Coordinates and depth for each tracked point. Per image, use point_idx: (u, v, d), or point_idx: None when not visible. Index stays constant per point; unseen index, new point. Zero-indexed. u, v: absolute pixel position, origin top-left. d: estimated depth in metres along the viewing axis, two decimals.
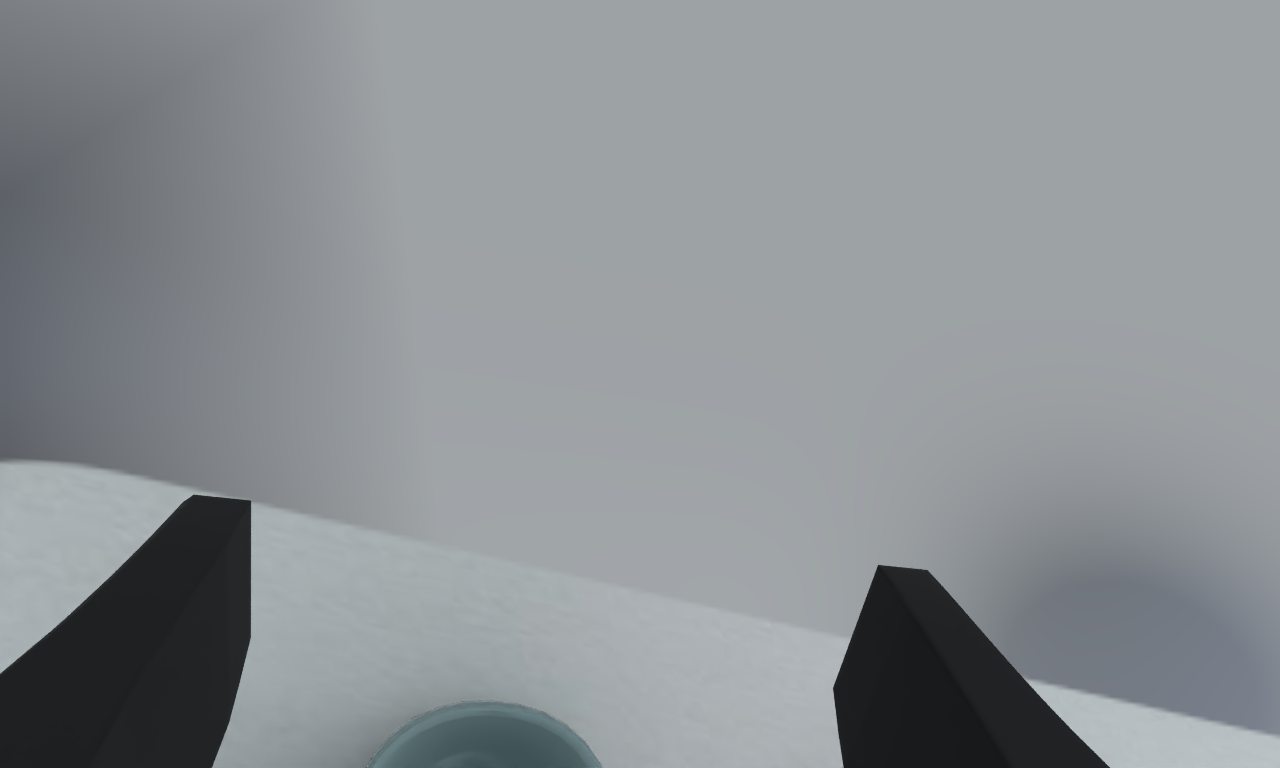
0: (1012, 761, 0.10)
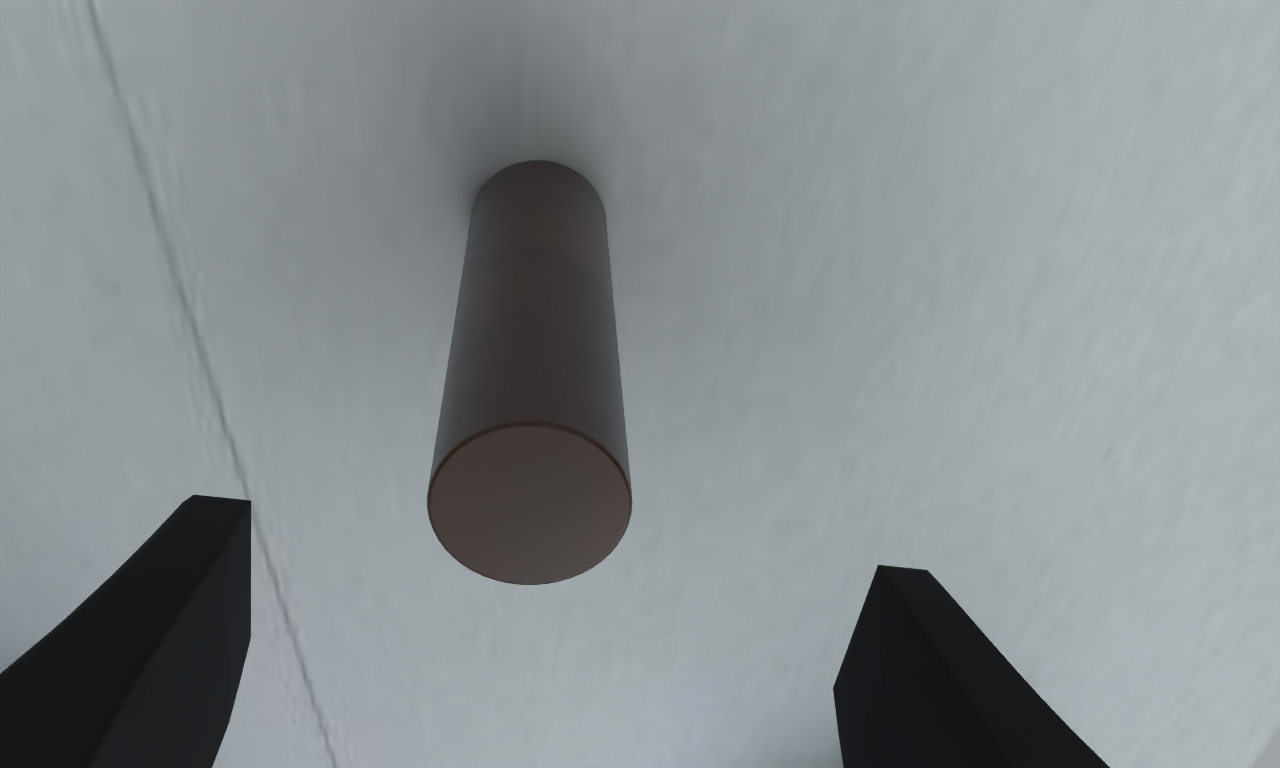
0: (1012, 761, 0.10)
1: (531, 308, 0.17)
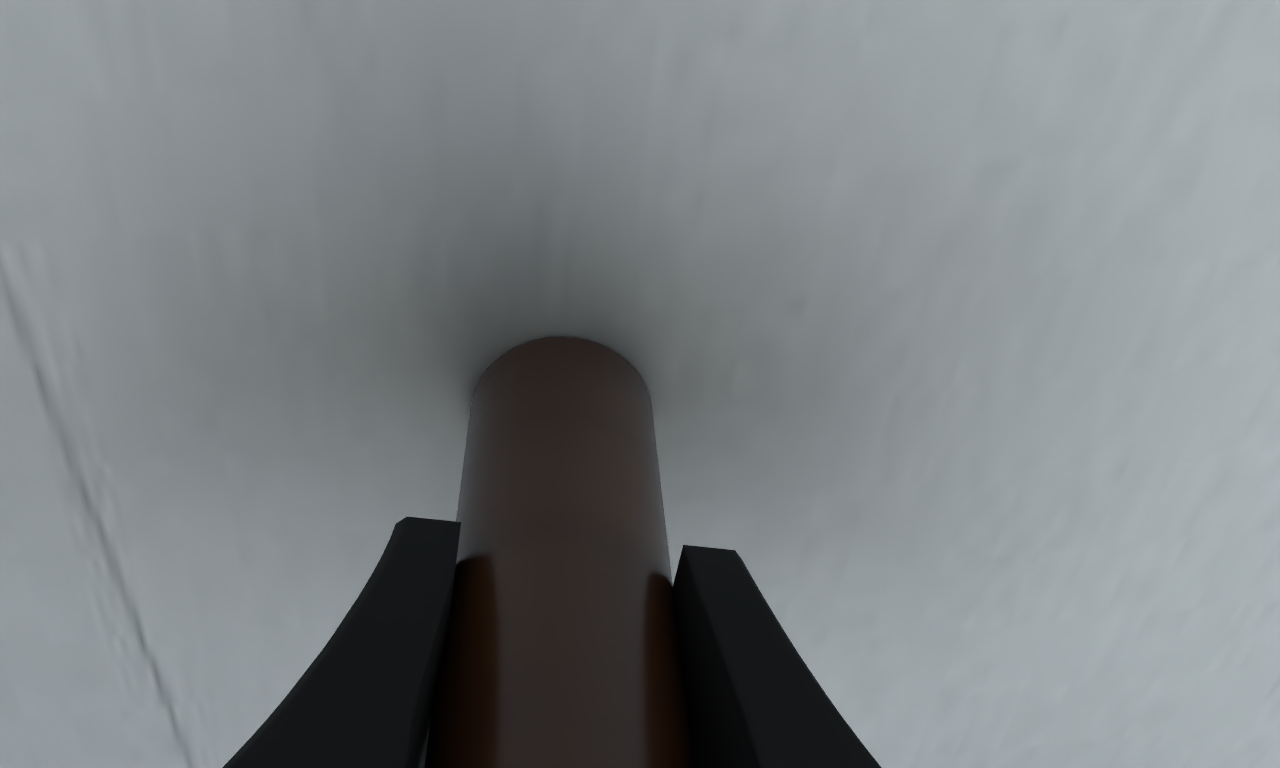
0: (761, 741, 0.10)
1: (560, 648, 0.11)
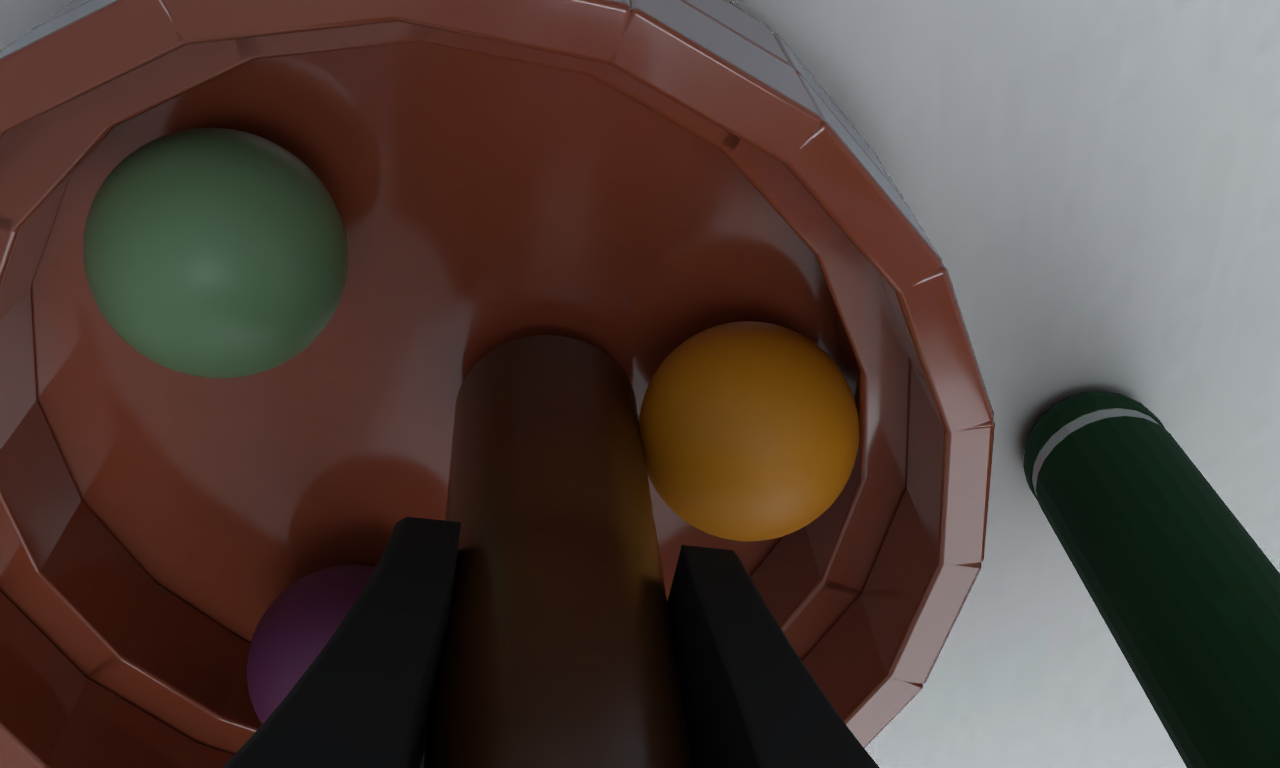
0: (759, 741, 0.10)
1: (561, 648, 0.11)
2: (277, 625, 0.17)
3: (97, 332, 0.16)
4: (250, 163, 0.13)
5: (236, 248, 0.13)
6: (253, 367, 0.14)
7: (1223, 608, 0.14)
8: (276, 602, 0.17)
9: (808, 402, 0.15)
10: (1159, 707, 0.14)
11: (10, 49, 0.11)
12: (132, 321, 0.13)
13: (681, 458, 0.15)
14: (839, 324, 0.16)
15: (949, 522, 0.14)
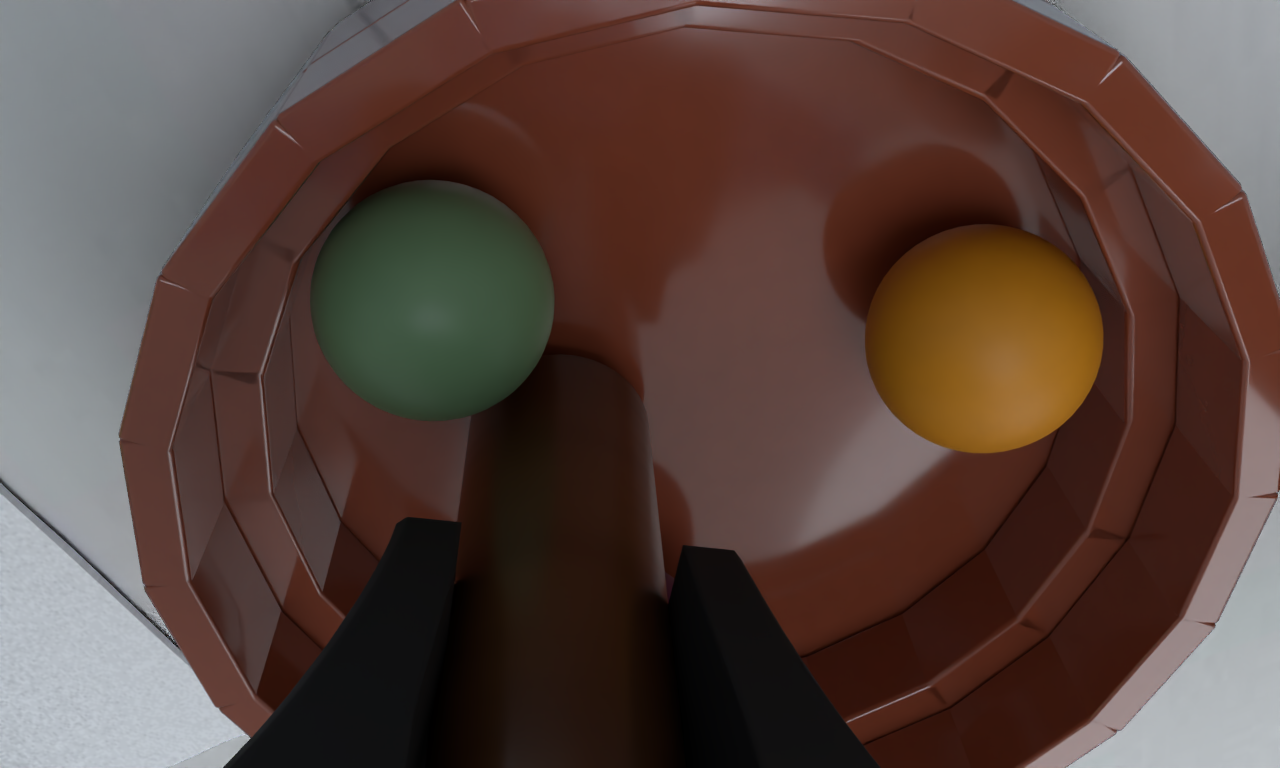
0: (760, 741, 0.10)
1: (593, 667, 0.11)
2: None
3: None
4: (514, 239, 0.14)
5: (481, 313, 0.13)
6: (430, 416, 0.14)
7: None
8: None
9: (1037, 261, 0.14)
10: None
11: (316, 81, 0.12)
12: (353, 338, 0.13)
13: (899, 317, 0.14)
14: (1085, 268, 0.16)
15: (1246, 454, 0.14)
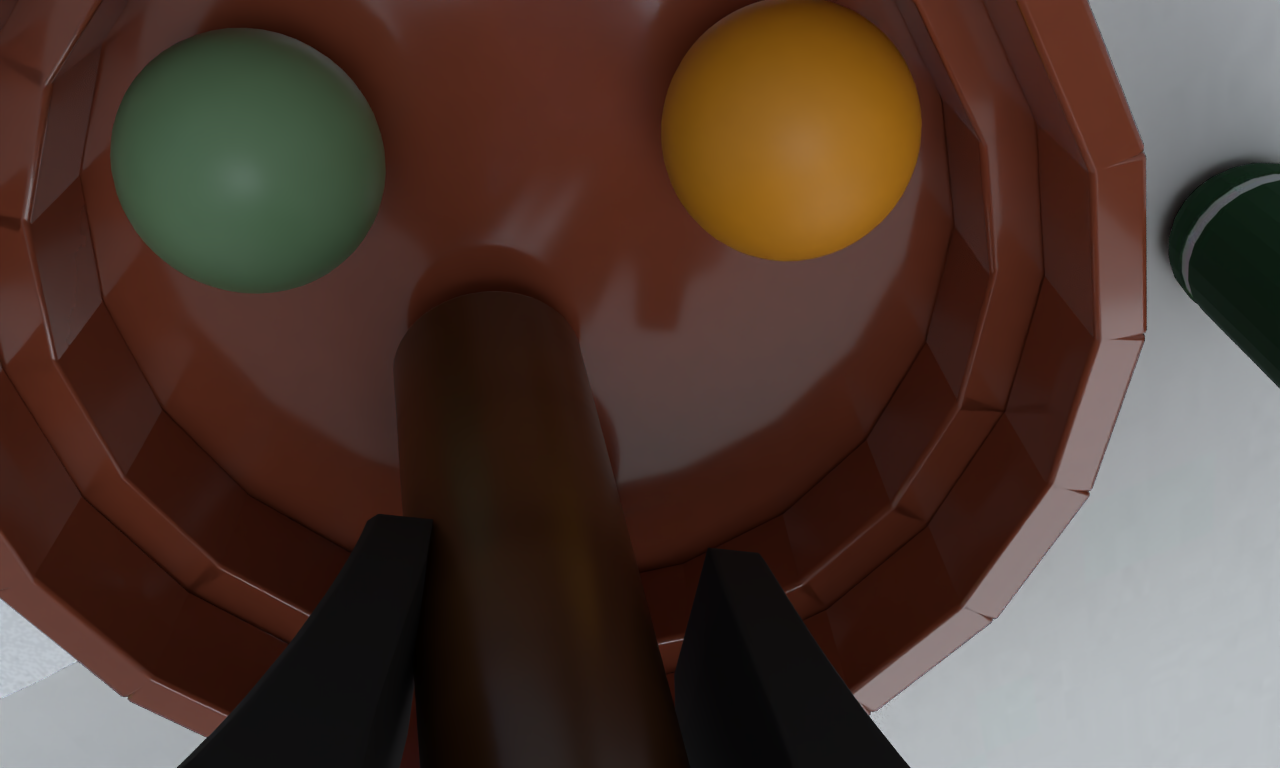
0: (793, 743, 0.10)
1: (565, 662, 0.11)
2: None
3: None
4: (337, 90, 0.13)
5: (321, 180, 0.12)
6: (277, 290, 0.13)
7: None
8: None
9: (818, 3, 0.13)
10: None
11: None
12: (183, 225, 0.12)
13: (676, 72, 0.13)
14: (946, 108, 0.15)
15: (1103, 286, 0.13)
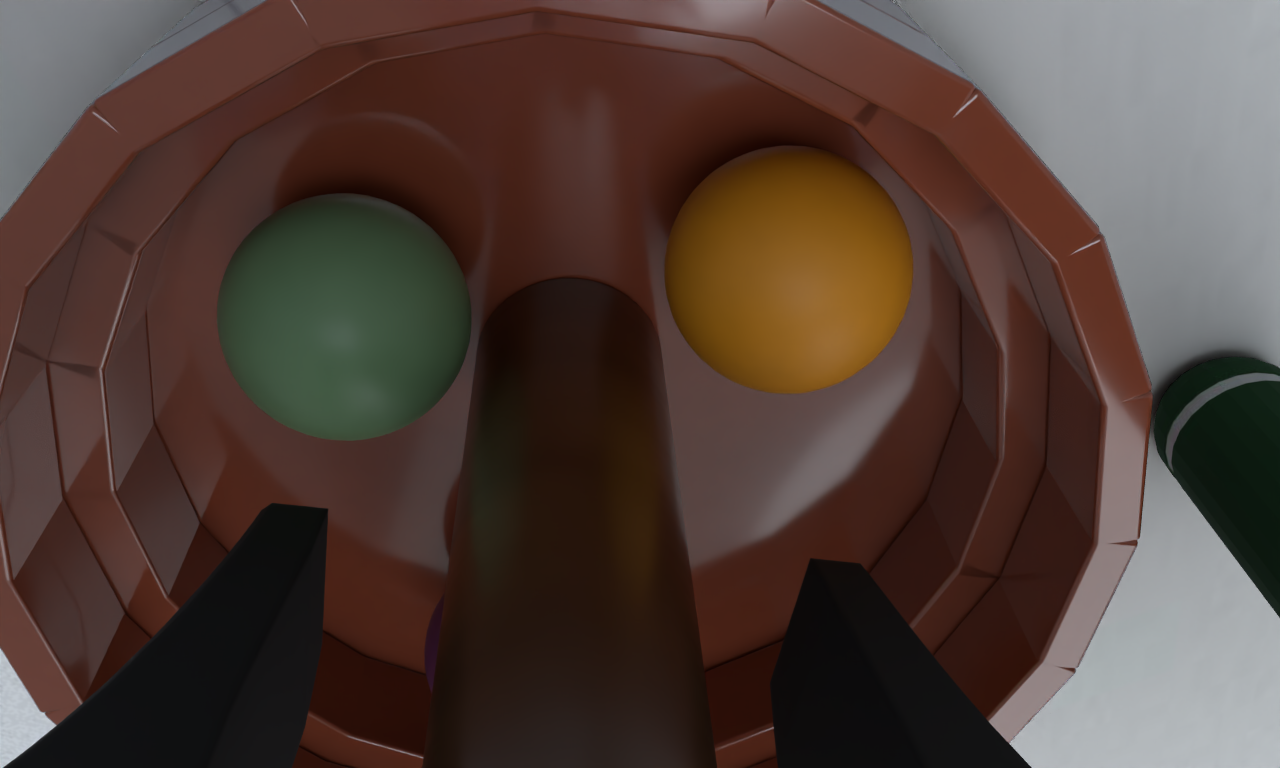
0: (925, 754, 0.10)
1: (579, 574, 0.11)
2: None
3: (212, 352, 0.16)
4: (446, 254, 0.14)
5: (441, 335, 0.13)
6: (372, 437, 0.14)
7: None
8: None
9: None
10: None
11: (141, 67, 0.11)
12: (314, 378, 0.13)
13: None
14: (965, 302, 0.16)
15: (1105, 500, 0.14)
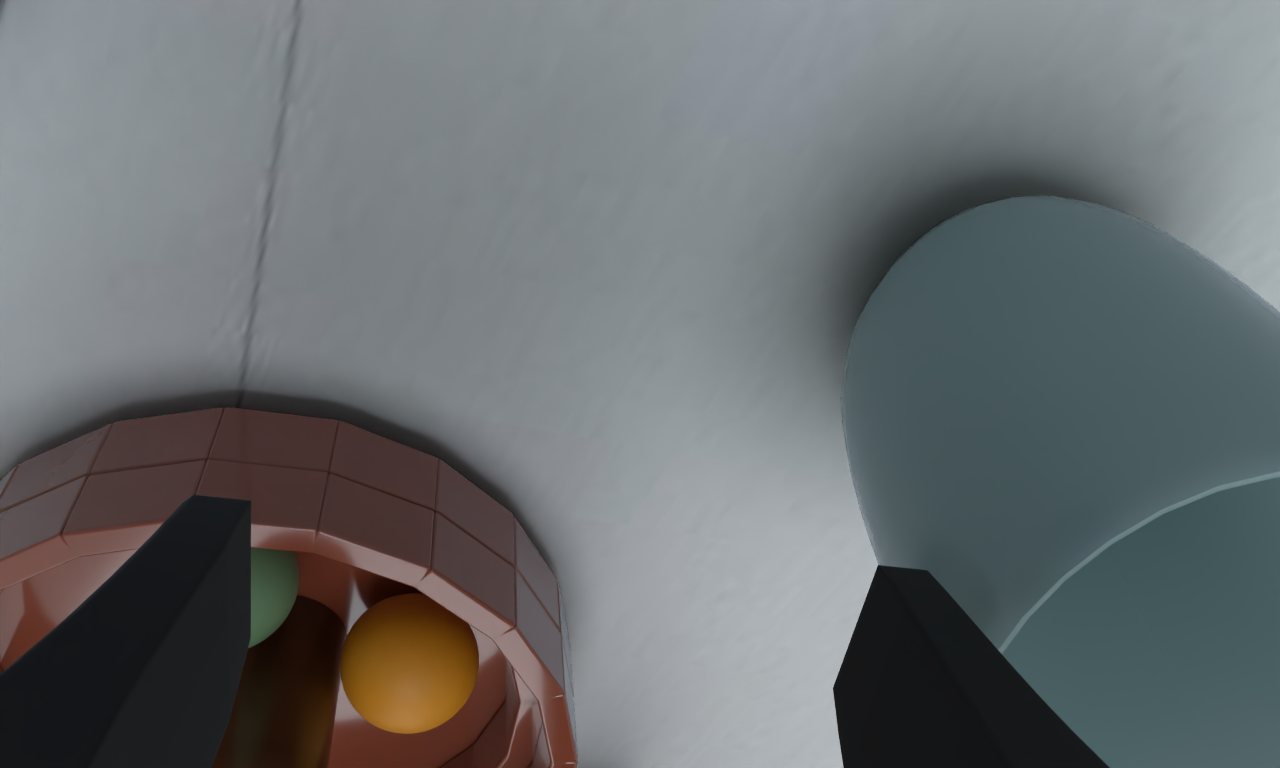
0: (1012, 761, 0.10)
1: None
2: None
3: None
4: (297, 564, 0.24)
5: (288, 609, 0.23)
6: None
7: None
8: None
9: (472, 631, 0.26)
10: None
11: None
12: None
13: None
14: (504, 709, 0.28)
15: None
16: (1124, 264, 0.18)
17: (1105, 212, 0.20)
